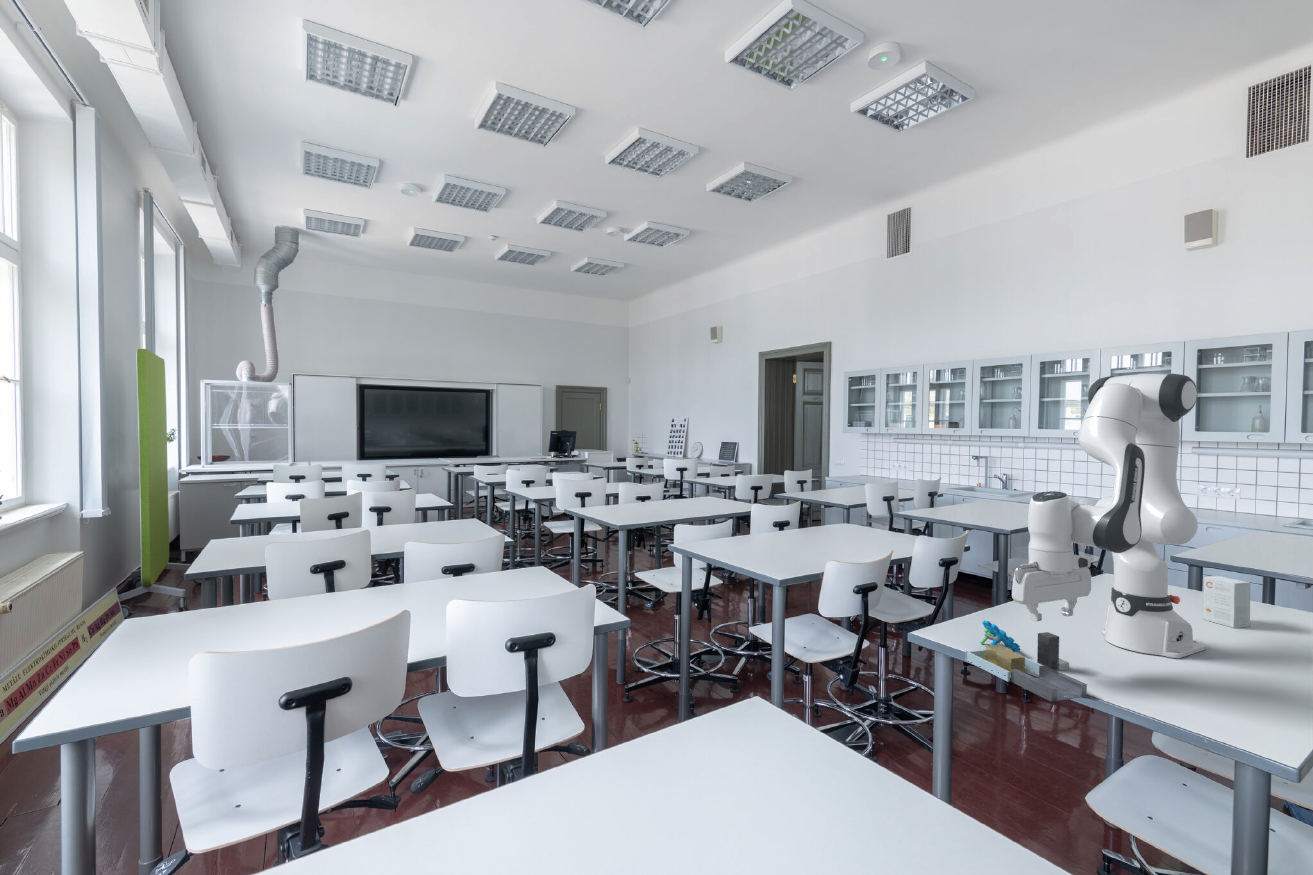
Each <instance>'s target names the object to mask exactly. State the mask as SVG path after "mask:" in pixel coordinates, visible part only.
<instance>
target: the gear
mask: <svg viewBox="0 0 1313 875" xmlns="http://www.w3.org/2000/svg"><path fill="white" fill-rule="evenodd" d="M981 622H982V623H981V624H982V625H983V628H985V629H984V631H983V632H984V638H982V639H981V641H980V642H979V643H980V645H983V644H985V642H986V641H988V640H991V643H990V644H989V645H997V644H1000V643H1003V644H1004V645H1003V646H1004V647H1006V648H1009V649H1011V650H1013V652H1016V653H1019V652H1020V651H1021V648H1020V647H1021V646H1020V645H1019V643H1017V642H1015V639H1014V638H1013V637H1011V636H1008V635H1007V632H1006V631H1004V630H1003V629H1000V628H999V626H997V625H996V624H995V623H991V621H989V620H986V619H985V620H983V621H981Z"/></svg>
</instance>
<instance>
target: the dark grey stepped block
mask: <svg viewBox="0 0 1313 875" xmlns="http://www.w3.org/2000/svg"><path fill="white" fill-rule="evenodd" d="M1036 657H1037V659H1036V661H1037V663H1039V664H1041V665H1043V666H1044V665H1045V666H1047V667H1049V668H1051V669H1054V670H1056V671H1058V672H1062V671H1069V670H1070V662H1068V661H1067V660H1064V659H1062V658H1060V636H1059V635H1056V634H1054V633H1051V632H1049V631H1047V632H1039V633H1037V656H1036Z"/></svg>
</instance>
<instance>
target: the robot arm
mask: <svg viewBox="0 0 1313 875" xmlns="http://www.w3.org/2000/svg"><path fill="white" fill-rule="evenodd" d="M1197 398H1198V388H1197V384H1196V383H1195V381H1194V380H1193V379H1192V378H1191V377H1190V376H1188V375H1185V374H1181V373H1180V374H1178V373H1168V374H1164V373H1138V374H1128V375H1118V376H1113V375H1108V376H1105V377H1100V378H1098V379H1097V380H1095V381H1094V382H1093V383H1092V384H1091V385H1090V387H1089V389H1088V394H1087V401H1088V407H1087V409H1086V411H1085V413H1084V416H1083V419H1082V421H1081V424H1080V428H1079V430H1078V435H1077V439H1078V440H1077V441H1078V443H1079V444H1078V445H1079V446H1080V448H1081V449H1082V450H1083V451H1084V452H1085V454H1086V455H1088V456H1090V457H1091V458H1092V459H1095V460H1096V461H1099V462H1101V463H1103V464H1105V465H1108V466H1110V467H1112V468H1113V470H1114V474H1115V475H1114V483H1113V484H1114V485H1113V491H1112V492H1113V493H1112V495H1110V496H1105V497H1103V498H1100V499H1099V500H1098V501H1097V502H1096V503H1095V505H1089V504H1085V503H1080V502H1077V501H1075V500H1073V499H1071V498H1070V497H1069V495H1068V494H1067V493H1065V492H1062V491H1056V490H1054V491H1053V490H1050V491H1041V492H1037V493H1035V494H1033V495H1032V496H1031V497H1030V501H1029V505H1028V511H1027V530H1028V532H1029V541H1028V544H1027V545H1028V547H1027V548H1028V563H1021V564H1019V566H1017V568H1015V570H1014V575H1013V578H1012V586H1011V587H1012V588H1011V598H1012V599H1013V600H1014V602H1016V603H1018V604H1021V605H1025V607H1026V609H1027V610H1028V611H1029V613H1030V616H1029V617H1030V618H1029V619H1030V620H1031V621H1033V622H1040V621H1042V620H1043V618H1042V617H1043V614H1042V613H1040V612H1039V611H1038V608H1039V604H1041V603H1048V602H1049V603H1050V602H1056V601H1062V600H1063V601H1064V600H1065V602H1064V606H1063V607H1061V615H1062V616H1065V617H1072V616H1074V609H1075V606H1076V605H1077V603H1078V598H1082V597H1083V598H1084V597H1088V596H1089V595H1090V593H1091V591H1092V573H1091V570H1090V569H1089V568H1090V567H1091V565H1092V564H1091V559H1090V558H1088V557H1085V556H1081V555H1078V554H1075V553H1074V547H1073V544H1078V545H1080V546H1081V545H1082V546H1087V547H1092V548H1098V549H1101V550H1104V551H1108V552H1111V556H1112V562H1113V587H1111V591H1110V601H1111V602H1112V603H1111V604H1110V605H1108V609H1107V616H1106V623H1105V628H1102V629H1101V630H1102V631H1101V634H1102V635H1103V636H1104V640H1105V641H1106V642H1108V643H1110V644H1112V645H1113V646H1116V647H1119V648H1121V649H1124V650H1129V651H1132V652H1137V653H1140V654H1141V653H1142V654H1146V655H1147V654H1148V655H1154V656H1155V655H1156V656H1162V657H1168V658H1173V659H1181V658H1184V657H1187V656H1191V655H1194V654H1196V653H1197V654H1198V653H1199V652H1202V651H1205V650H1206V646H1205V644H1202V643H1201V642H1198V641H1196V640H1194V634H1193V627H1192V625H1191V624H1190V622H1188V621H1187V620H1186V619H1184V617H1182V616H1181V615H1180V614H1178V613H1177V612H1176V611H1175V610H1174V607H1173V604H1176V605H1179V604H1180V602H1181V598H1180V596H1178V595H1173V594H1168V592H1169V567H1168V564H1167V562H1166V561H1165V560H1164V559H1163V557H1161V556H1160V554H1159V553H1158V551H1157V550H1156V548H1155V546H1154V544H1157V545H1168V546H1171V545H1174V546H1175V545H1184V544H1187V543H1188V542H1190V541H1192V540H1193V539H1194V537H1195V536H1196V533H1197V531H1198V527H1199V526H1198V519H1197V517H1196V515H1195V514H1194V512H1193V511H1191V510H1190V509H1189V508H1188V507H1187V506H1188V505H1186V504H1185V502H1184V501H1183V497H1182V496H1181V493H1180V489H1179V487H1178V481H1177V470H1178V469H1177V468H1178V458H1179V451H1180V450H1179V449H1180V440H1181V439H1180V438H1181V435H1180V434H1181V430H1180V420H1181V418H1182V417H1184V416H1186V415H1187V414H1188V413H1190V412H1191V410H1193V409H1194V407H1195V406H1196V405H1195V404H1196V402H1197ZM1072 543H1073V544H1072Z"/></svg>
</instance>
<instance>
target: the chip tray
mask: <svg viewBox="0 0 1313 875" xmlns="http://www.w3.org/2000/svg"><path fill="white" fill-rule="evenodd" d="M985 653H986V648H984V649H974V650H966V651H965V652H964V654H965V655H964V657H965V658H964V660H965V661H966V662H968V661H969V662H968V663H970V662H972V663H971V664H972V665H974V666H976V667H978V668H980V669H982V670H984V671H986V672H988V673H990V674H992V675H993V676H996V677H998V678H999V679H1001V680H1004V681H1006V682H1008V683H1009V682H1011V676H1010V672H1009V671H1007V670H1005V669H1003V668H1001V667H999V666H997V665H995V664H993V663H991V662H989V661H986V660H985ZM1024 657H1025V656H1024ZM979 666H981V667H979ZM1039 666H1043V665H1041V664H1039V663H1037V662H1036V661H1034V660H1032V659H1030V658H1028V657H1025V669H1027V670H1029V671H1032V672H1034V673H1035V674H1036V673H1037V674H1038V675H1039ZM991 670H993V671H991ZM998 672H999V673H998ZM1004 675H1006V676H1004Z"/></svg>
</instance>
